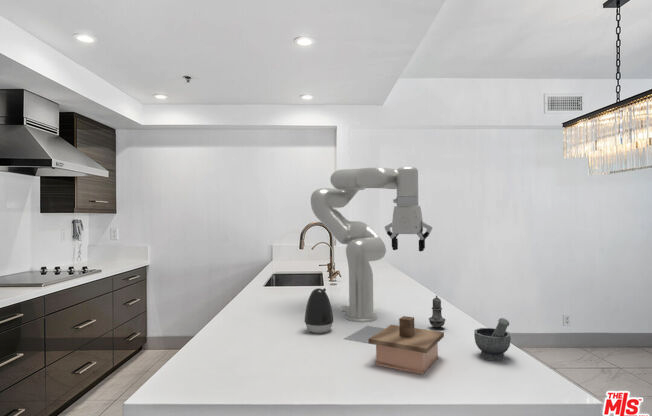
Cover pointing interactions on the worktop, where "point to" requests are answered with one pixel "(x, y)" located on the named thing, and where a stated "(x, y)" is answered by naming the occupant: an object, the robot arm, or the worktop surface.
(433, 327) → the dark stone chess piece
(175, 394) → the worktop surface
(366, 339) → the rubber mat
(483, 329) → the mortar and pestle
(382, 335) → the walnut lid
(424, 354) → the open terracotta box
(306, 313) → the dark grey egg shape
